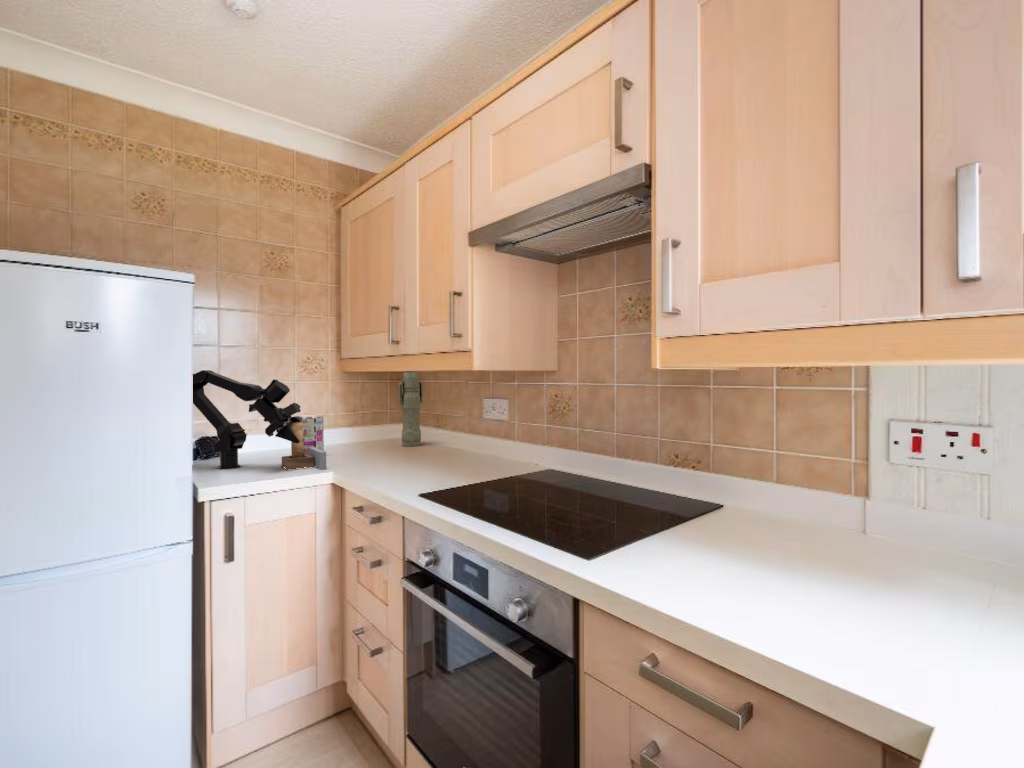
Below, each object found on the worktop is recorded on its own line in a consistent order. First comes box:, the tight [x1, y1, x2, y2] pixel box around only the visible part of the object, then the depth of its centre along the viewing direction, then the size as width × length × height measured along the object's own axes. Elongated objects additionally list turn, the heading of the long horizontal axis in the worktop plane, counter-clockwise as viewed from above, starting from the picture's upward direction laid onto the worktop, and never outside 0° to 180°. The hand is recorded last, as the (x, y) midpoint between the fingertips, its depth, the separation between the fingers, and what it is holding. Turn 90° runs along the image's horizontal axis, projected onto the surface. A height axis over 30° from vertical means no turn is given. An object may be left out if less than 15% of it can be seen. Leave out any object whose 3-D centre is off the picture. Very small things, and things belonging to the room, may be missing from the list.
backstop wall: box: [309, 447, 327, 470], centre depth 178 cm, size 16×2×6 cm, turn 36°
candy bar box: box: [299, 415, 325, 455], centre depth 202 cm, size 11×5×16 cm, turn 68°
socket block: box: [281, 454, 315, 470], centre depth 177 cm, size 9×9×4 cm
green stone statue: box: [397, 371, 424, 448], centre depth 230 cm, size 9×12×35 cm
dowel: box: [290, 422, 304, 459], centre depth 177 cm, size 4×4×14 cm
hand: (301, 441), depth 177 cm, fingers closed on dowel, 4 cm apart
